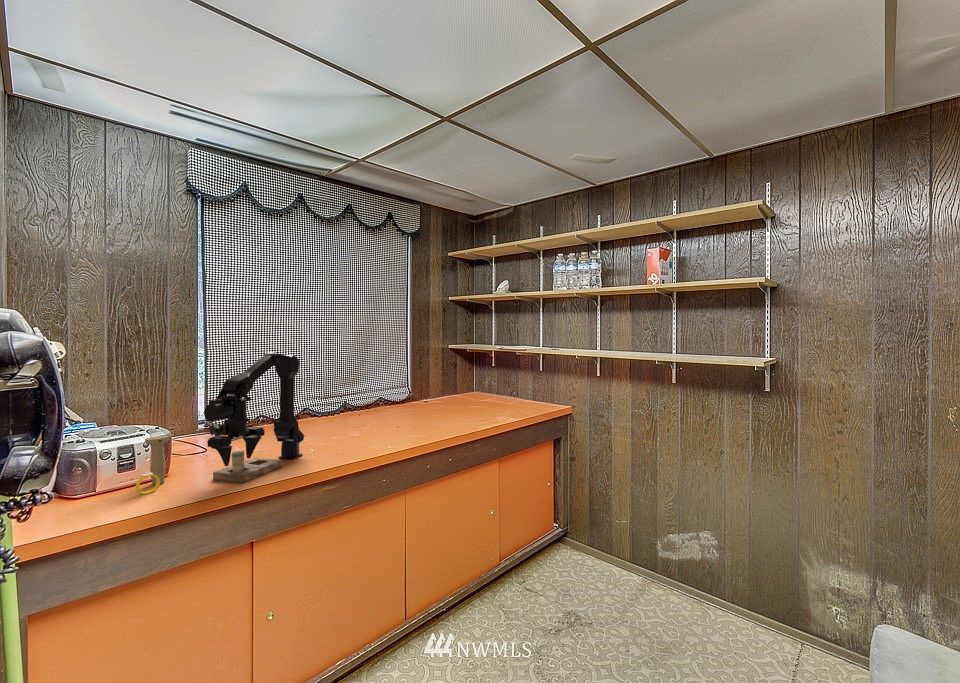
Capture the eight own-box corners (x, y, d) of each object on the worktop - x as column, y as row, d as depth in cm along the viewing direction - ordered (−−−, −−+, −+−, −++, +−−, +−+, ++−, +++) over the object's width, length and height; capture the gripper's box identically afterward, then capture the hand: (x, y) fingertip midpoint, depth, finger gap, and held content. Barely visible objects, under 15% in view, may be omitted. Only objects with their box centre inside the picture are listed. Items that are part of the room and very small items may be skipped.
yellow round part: (140, 497, 136) (137, 478, 136) (135, 495, 138) (133, 476, 137) (162, 489, 142) (160, 471, 141) (157, 488, 143) (155, 470, 142)
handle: (172, 482, 149) (171, 436, 148) (149, 487, 144) (148, 440, 143) (166, 479, 152) (165, 434, 151) (143, 484, 146) (142, 438, 146)
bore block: (254, 464, 168) (254, 457, 168) (281, 467, 165) (281, 460, 165) (213, 479, 151) (212, 472, 151) (242, 483, 148) (241, 475, 147)
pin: (238, 473, 156) (237, 450, 156) (247, 474, 155) (246, 451, 155) (229, 477, 152) (229, 453, 152) (238, 478, 151) (237, 454, 151)
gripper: (240, 410, 164) (240, 452, 165) (193, 419, 146) (194, 468, 147) (265, 411, 161) (265, 455, 161) (221, 422, 143) (221, 471, 144)
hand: (237, 462), depth 153 cm, fingers open, 9 cm apart
